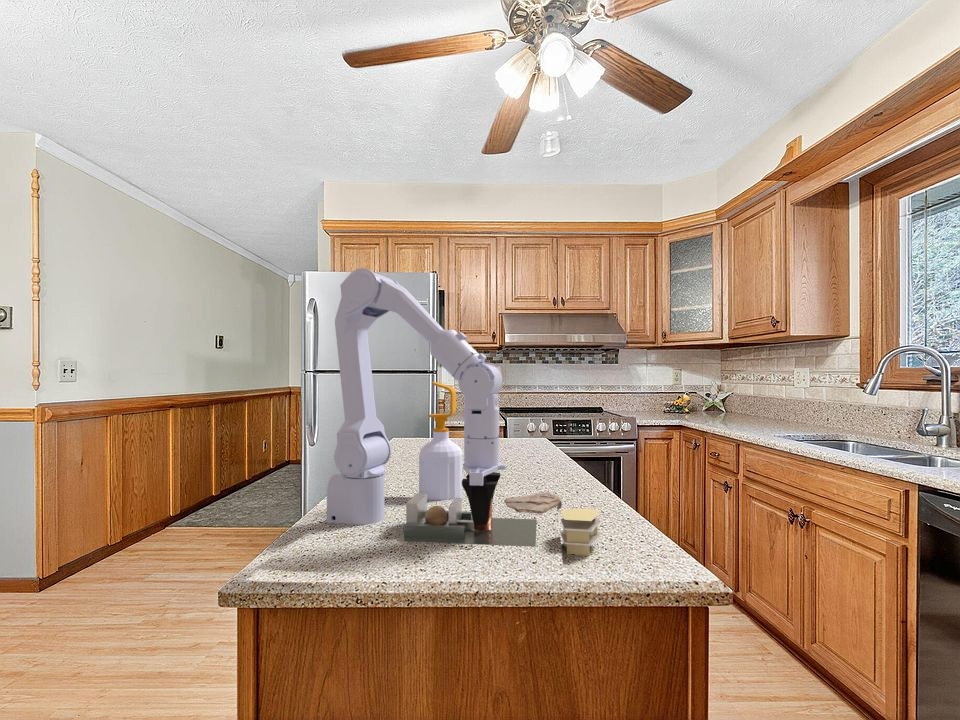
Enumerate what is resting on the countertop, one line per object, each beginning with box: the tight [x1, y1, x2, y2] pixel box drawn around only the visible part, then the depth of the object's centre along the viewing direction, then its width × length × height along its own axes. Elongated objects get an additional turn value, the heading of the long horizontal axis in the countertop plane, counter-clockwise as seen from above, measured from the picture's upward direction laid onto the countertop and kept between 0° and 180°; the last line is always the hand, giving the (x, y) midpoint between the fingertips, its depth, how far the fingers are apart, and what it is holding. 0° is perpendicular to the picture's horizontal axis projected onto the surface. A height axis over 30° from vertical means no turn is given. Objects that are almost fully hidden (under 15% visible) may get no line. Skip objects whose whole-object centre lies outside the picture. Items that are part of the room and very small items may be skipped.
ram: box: [448, 497, 493, 531], centre depth 86 cm, size 7×6×6 cm
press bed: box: [396, 492, 538, 548], centre depth 86 cm, size 21×14×6 cm, turn 83°
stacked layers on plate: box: [560, 508, 601, 557], centre depth 80 cm, size 10×9×6 cm
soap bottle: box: [418, 381, 463, 501], centre depth 110 cm, size 9×9×25 cm
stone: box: [504, 492, 563, 514], centre depth 101 cm, size 11×12×3 cm
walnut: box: [425, 505, 447, 525], centre depth 86 cm, size 4×4×4 cm
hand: (481, 521), depth 85 cm, fingers closed on ram, 3 cm apart
